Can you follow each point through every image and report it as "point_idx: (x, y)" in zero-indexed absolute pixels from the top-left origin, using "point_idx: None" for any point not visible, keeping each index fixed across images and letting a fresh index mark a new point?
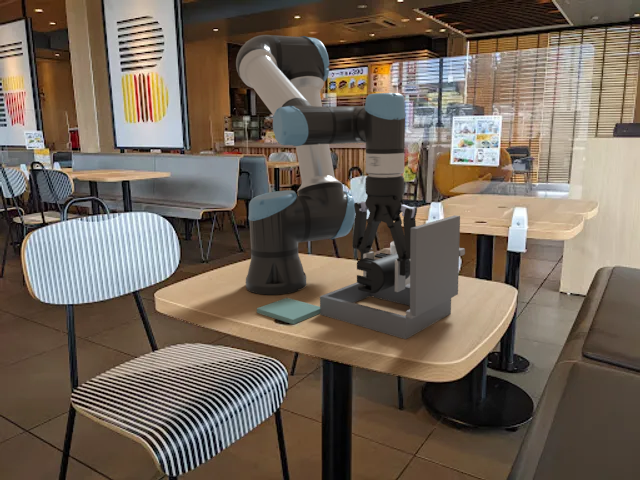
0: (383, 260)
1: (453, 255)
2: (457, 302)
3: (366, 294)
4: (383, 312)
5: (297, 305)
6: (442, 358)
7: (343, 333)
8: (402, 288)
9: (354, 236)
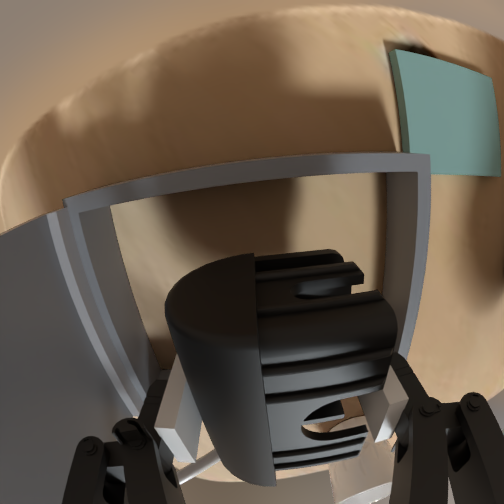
0: (233, 407)
1: None
2: None
3: None
4: (135, 182)
5: (461, 143)
6: (11, 179)
7: (238, 85)
8: None
9: (499, 442)
